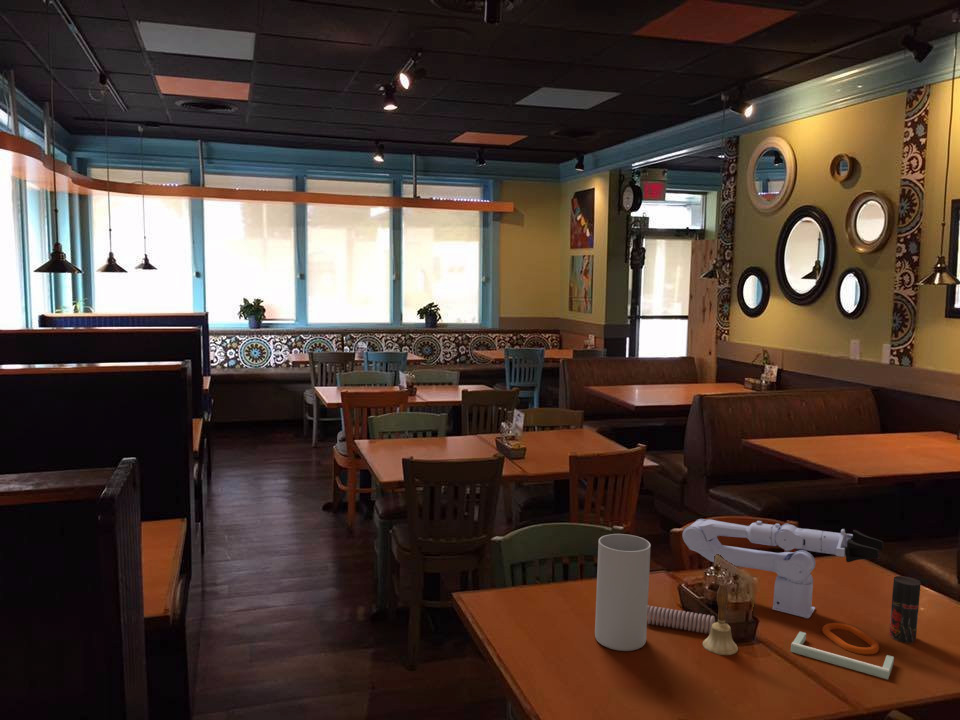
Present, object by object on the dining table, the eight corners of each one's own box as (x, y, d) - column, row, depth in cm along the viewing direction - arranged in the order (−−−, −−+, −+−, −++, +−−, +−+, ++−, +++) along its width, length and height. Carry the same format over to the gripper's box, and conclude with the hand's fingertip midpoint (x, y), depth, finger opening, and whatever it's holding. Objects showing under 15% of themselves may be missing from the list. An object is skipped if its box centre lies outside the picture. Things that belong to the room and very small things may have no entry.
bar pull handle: (790, 651, 183) (791, 643, 183) (799, 638, 190) (799, 630, 190) (888, 679, 171) (888, 671, 170) (893, 664, 178) (893, 656, 178)
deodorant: (919, 644, 188) (924, 586, 187) (893, 641, 189) (898, 584, 188) (910, 633, 194) (915, 577, 192) (885, 630, 195) (890, 575, 193)
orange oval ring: (848, 620, 198) (888, 648, 183) (847, 627, 198) (888, 654, 183) (814, 622, 196) (852, 650, 181) (814, 629, 196) (852, 657, 181)
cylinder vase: (650, 635, 190) (655, 539, 187) (639, 657, 179) (644, 555, 176) (602, 624, 195) (606, 531, 192) (588, 645, 184) (592, 546, 181)
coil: (716, 613, 194) (645, 602, 200) (715, 619, 189) (643, 607, 195) (715, 631, 194) (644, 619, 200) (714, 637, 189) (642, 625, 195)
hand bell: (720, 658, 179) (723, 593, 177) (695, 643, 186) (698, 580, 185) (745, 651, 183) (749, 587, 181) (720, 636, 190) (723, 575, 188)
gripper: (817, 534, 195) (876, 541, 187) (829, 520, 207) (884, 527, 199) (817, 561, 195) (876, 569, 187) (829, 545, 207) (884, 553, 199)
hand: (880, 549), depth 193 cm, fingers open, 7 cm apart
